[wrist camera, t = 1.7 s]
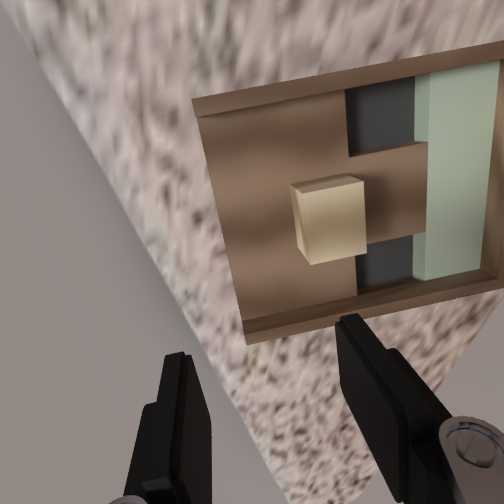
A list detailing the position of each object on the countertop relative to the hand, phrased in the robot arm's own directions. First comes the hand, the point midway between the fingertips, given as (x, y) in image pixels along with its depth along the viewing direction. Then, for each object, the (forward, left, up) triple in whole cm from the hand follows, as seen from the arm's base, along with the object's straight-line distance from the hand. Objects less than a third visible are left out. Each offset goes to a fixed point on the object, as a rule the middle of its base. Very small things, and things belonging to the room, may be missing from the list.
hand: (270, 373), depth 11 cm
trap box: (0, +10, -17) cm, 20 cm away
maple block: (0, +7, -15) cm, 17 cm away
